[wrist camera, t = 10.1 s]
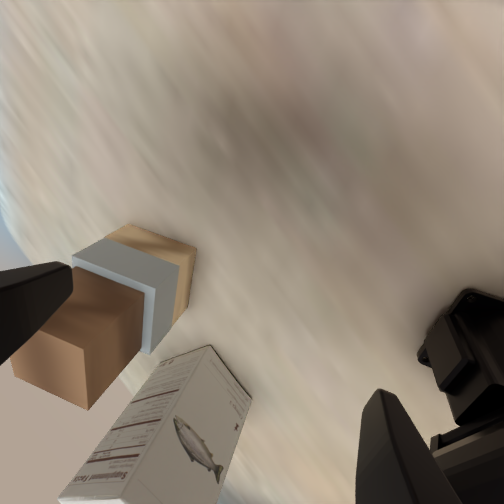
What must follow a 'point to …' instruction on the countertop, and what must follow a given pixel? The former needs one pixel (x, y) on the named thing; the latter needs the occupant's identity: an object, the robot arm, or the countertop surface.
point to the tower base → (165, 251)
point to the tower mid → (137, 282)
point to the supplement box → (168, 438)
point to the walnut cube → (84, 340)
